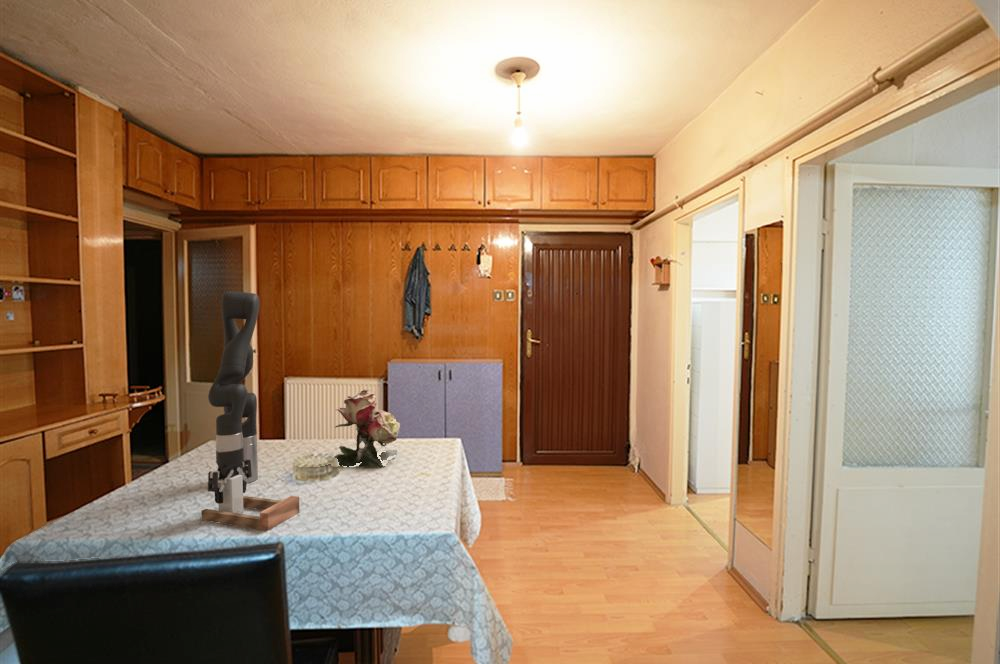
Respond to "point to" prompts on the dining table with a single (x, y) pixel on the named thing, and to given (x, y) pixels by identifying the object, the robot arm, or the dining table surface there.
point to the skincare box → (232, 495)
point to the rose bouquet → (367, 430)
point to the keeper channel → (268, 518)
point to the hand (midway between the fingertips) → (231, 497)
